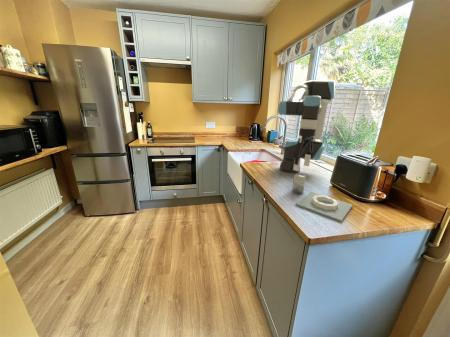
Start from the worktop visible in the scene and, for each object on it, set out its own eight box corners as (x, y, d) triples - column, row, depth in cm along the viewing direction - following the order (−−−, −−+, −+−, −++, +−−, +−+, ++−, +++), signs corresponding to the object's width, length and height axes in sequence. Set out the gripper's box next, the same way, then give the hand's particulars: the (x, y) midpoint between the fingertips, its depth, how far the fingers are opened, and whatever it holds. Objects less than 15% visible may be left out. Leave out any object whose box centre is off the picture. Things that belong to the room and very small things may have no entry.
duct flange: (310, 193, 106) (311, 188, 105) (352, 206, 92) (353, 200, 92) (295, 205, 92) (296, 199, 91) (341, 222, 79) (342, 216, 78)
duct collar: (294, 189, 111) (297, 173, 108) (304, 192, 107) (307, 175, 104) (290, 192, 107) (292, 175, 104) (300, 195, 103) (303, 178, 100)
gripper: (309, 126, 107) (303, 162, 113) (289, 128, 90) (283, 170, 96) (323, 127, 102) (316, 165, 108) (305, 130, 85) (298, 174, 91)
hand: (301, 168), depth 102 cm, fingers open, 13 cm apart
